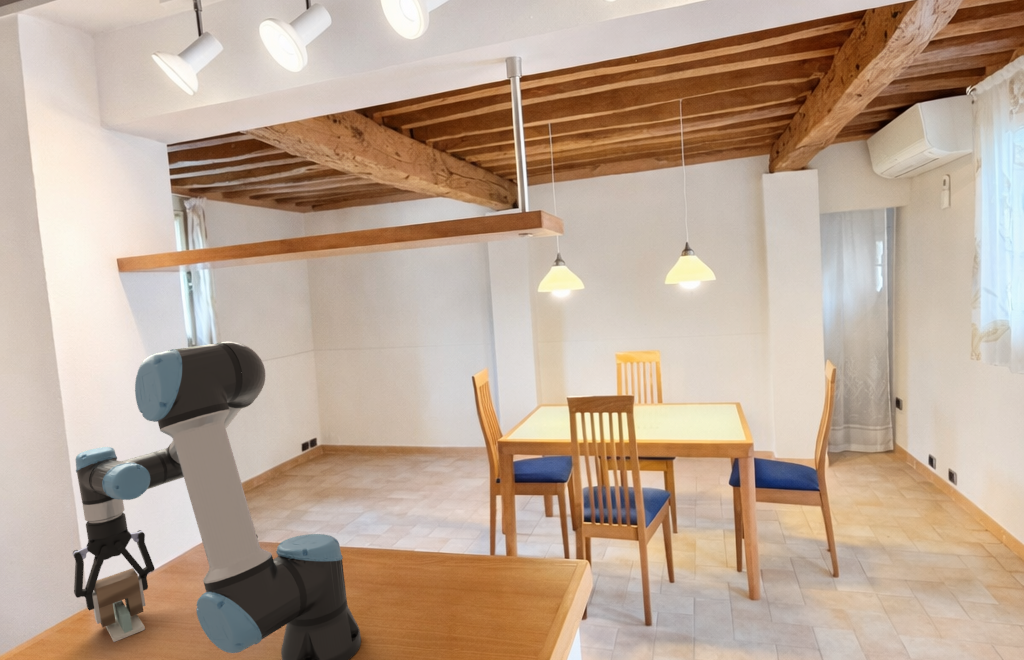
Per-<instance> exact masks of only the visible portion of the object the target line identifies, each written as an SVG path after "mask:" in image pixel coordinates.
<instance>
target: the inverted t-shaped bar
mask: <svg viewBox="0 0 1024 660" xmlns="http://www.w3.org/2000/svg"><path fill="white" fill-rule="evenodd" d="M113 608H114V614H115V620H116V623H113V624H111V625H108V626H106V627H105V629H106V630H107V632H108V634H109V635H110V638H111V641H112V642H113V643H116V642H117V641H120V640H123V639H125V638H127V637H130V636H132V635H134V634H137V633H140V632H143V631H145V630H146V628H145V625H144V623H143V621H142V620H141V619H140V617H139V616H138V615H139V614H137V615H134V616H130V613H129V611H128V609H127V608H126V604H125V603H124V601H123V600H121V601H118V602H115V603H113Z"/></svg>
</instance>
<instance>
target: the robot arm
mask: <svg viewBox="0 0 1024 660" xmlns="http://www.w3.org/2000/svg"><path fill="white" fill-rule="evenodd" d="M265 382H266V368H265V365H264V363H263V360H262V359H261V357H260V356H259V354H258V353H257V352H255V351H254V349H252V348H250V347H249V346H247V345H245V344H243V343H242V344H241V343H239V342H234V341H222V342H218V343H212V344H205V345H204V344H203V345H198V346H197V345H196V346H188V347H183V348H175V349H174V348H173V349H169V350H166V351H165V350H164V351H162V352H157V353H153V354H150V355H149V356H147V357H146V358H145V359H143V361H142V362H141V363H140V366H139V367H138V370H137V374H136V378H135V383H134V392H135V402H136V404H137V408H138V411H139V412H140V413H141V414H142V417H143V418H144V419H145V420H147V421H148V422H157V424H158V428H159V431H160V432H161V433H162V434H166V435H167V436H169V437H170V438H172V441H171V443H170V444H169V445H168V446H167V447H166V448H164V449H159V450H156V451H154V452H153V451H152V452H150V453H146V454H143V455H139V456H136V457H132V458H130V459H125V460H118V457H117V454H116V451H115V449H114V448H113V447H112V446H111V447H110V446H103V447H96V448H92V449H88V450H85V451H81V452H79V453H78V454H77V455H76V457H75V467H76V468H75V472H76V475H77V479H78V480H77V481H78V486H79V493H80V498H81V503H82V509H83V516H84V517H83V518H84V520H85V521H86V523H85V528H86V533H87V544H86V546H84V547H83V548H81V549H79V550H78V549H75V550H72V556H73V558H74V560H75V561H74V562H75V564H74V566H75V567H74V584H73V585H74V587H73V593H74V596H75V597H76V598H78V599H79V598H81V597H82V598H85V603H86V608H87V609H88V611H92V610H93V615H94V620H95V622H96V624H97V625H98V624H101V618H100V612H99V606H98V600H97V594H96V593H95V591H94V588H95V584H96V581H97V580H98V577H99V575H100V572H101V569H102V566H103V564H104V561H106V560H110V559H111V558H112V557H118V556H121V555H122V557H124V559H126V560H127V562H128V563H129V565H130V566H131V567H132V568H133V569H134V570H135V572H136V573H137V574H138V580H139V586H140V592H141V599H142V605H143V607H145V606H146V600H145V594H144V591H146V590H148V587H149V585H148V579H147V578H148V575H149V574H150V573H153V572H154V571H155V566H154V563H153V561H152V559H151V558H152V557H151V556H150V552H149V550H148V548H147V546H146V542H145V539H146V538H145V537H146V533H145V532H144V531H143V530H139V529H138V530H137V531H136V532H130V531H129V529H128V524H127V517H126V513H124V511H125V506H124V505H125V504H124V501H130V500H131V501H132V500H135V499H137V498H139V497H141V496H142V495H144V493H146V492H147V490H149V489H153V488H156V487H158V486H161V485H164V484H167V483H170V482H173V481H176V480H180V479H182V478H184V483H185V487H186V490H187V493H188V496H189V501H190V503H191V506H192V510H193V511H192V512H193V513H194V518H195V521H196V524H197V528H198V530H199V534H200V538H201V541H202V545H203V549H204V552H205V556H206V558H207V562H208V571H207V573H206V574H205V576H204V577H203V580H202V581H203V584H204V588H205V592H204V593H203V594H201V596H200V597H199V598H198V599H197V602H196V616H197V619H198V623H199V624H200V627H201V629H202V631H203V632H204V634H205V635H206V637H207V639H209V640H210V642H211V643H212V644H214V646H216V647H217V649H219V650H221V651H223V652H225V653H227V654H228V653H229V654H238V653H241V652H242V651H244V650H246V649H248V648H250V647H252V646H253V645H257V644H259V643H260V642H261V641H262V640H264V639H266V638H267V637H268V636H270V635H272V634H273V633H275V632H276V631H278V630H279V629H281V628H283V627H284V626H285V631H284V634H283V639H282V644H281V649H280V650H281V652H280V653H281V660H350V659H352V658H353V657H354V656H355V655H356V654H357V653H358V651H359V649H360V648H361V644H362V637H361V630H360V627H359V625H358V623H357V621H356V619H355V618H354V615H353V614H352V611H351V610H350V607H349V604H348V599H347V591H346V584H345V583H346V582H345V574H344V566H343V565H344V564H343V560H344V558H343V555H342V552H341V551H342V550H341V546H340V543H339V540H338V539H337V538H335V537H334V536H332V535H328V534H324V533H323V534H322V533H310V534H308V533H307V534H301V535H296V536H292V537H290V538H287V539H285V540H283V541H281V542H280V543H279V544H278V545H277V547H276V551H275V552H276V554H277V556H276V557H275V558H273V554H272V552H271V551H269V550H265V549H264V548H261V546H260V545H261V544H260V542H259V539H258V538H257V536H258V534H257V533H256V529H255V524H254V521H253V518H252V515H251V512H250V508H249V504H248V501H247V498H246V495H245V494H246V493H245V491H244V488H243V484H242V479H241V477H240V473H239V470H238V467H237V464H236V460H235V457H234V453H233V450H232V447H231V443H230V439H229V436H228V433H227V428H228V426H229V425H230V424H231V423H232V422H233V420H234V419H235V418H236V416H237V415H238V414H239V413H240V411H241V410H242V409H245V408H248V407H249V406H251V405H252V404H253V403H254V401H255V400H256V399H257V398H258V396H259V395H260V394H261V392H262V391H263V388H264V385H265ZM256 534H257V535H256ZM131 539H133V541H134V543H136V544H137V547H138V549H139V553H140V555H141V557H142V560H143V563H144V565H145V567H141V565H140V564H139V563H138V561H137V560H136V559H135V558H134V557H133V555H132V554H131V553H130V552H129V551H128V549H127V546H128V545H129V542H130V541H131ZM87 553H90V554H92V555H93V556H94V557H93V562H92V565H91V568H90V572H89V575H88V578H87V581H86V585H85V588H83V587H84V583H83V582H84V569H85V568H84V565H85V562H84V560H85V559H86V558H87ZM146 607H147V606H146Z"/></svg>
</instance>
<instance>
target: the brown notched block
mask: <svg viewBox="0 0 1024 660" xmlns="http://www.w3.org/2000/svg"><path fill="white" fill-rule="evenodd" d="M138 576H139V574H138V573H137V572H136V570H135V569H134V568H133V567H132V568H129V569H126V570H123V571H120V572H117V573H115V574H112V575H108V576H105V577H103V578H100V579H97V581H96V584H95V588H94V591H95V593H96V594H97V600H98V606H99V612H100V618H101V623H100V625H101V627H102V628H106V626H108V625H111V624H113V623H116V620H115V614H114V608H113V603H115V602H118V601H121V600H122V601H123V600H124V602H125V603H124V604H125V605H126V608H127V609H128V611H129V613H130V616H134V615H139V614H141V613H144V606H143V605H142V599H141V592H140V586H139V580H138Z"/></svg>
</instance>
